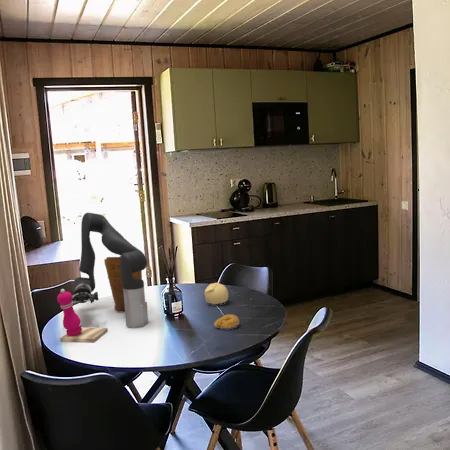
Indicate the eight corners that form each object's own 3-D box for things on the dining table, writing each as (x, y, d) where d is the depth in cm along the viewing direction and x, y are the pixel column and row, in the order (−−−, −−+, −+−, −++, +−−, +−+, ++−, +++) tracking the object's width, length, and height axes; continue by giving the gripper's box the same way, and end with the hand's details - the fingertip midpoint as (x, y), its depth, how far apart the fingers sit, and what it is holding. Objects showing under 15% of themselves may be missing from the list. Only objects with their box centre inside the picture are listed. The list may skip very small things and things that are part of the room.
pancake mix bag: (142, 314, 230) (138, 257, 226) (107, 312, 236) (103, 256, 232) (148, 310, 236) (144, 254, 233) (114, 308, 242) (110, 254, 238)
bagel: (214, 323, 211) (213, 313, 211) (239, 322, 211) (238, 312, 211) (213, 331, 201) (213, 321, 201) (239, 330, 201) (239, 320, 201)
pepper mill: (78, 335, 198) (65, 291, 193) (62, 337, 200) (49, 293, 195) (86, 327, 205) (74, 284, 200) (71, 329, 206) (59, 286, 202)
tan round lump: (207, 300, 248) (206, 280, 246) (230, 300, 246) (229, 280, 245) (203, 307, 236) (201, 286, 235) (227, 307, 235) (225, 285, 233)
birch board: (107, 331, 208) (107, 328, 208) (94, 342, 195) (93, 338, 195) (76, 330, 211) (75, 327, 211) (60, 341, 198) (60, 338, 198)
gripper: (66, 286, 220) (63, 295, 205) (97, 283, 224) (97, 291, 208) (67, 302, 221) (64, 312, 206) (99, 298, 225) (98, 308, 209)
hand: (81, 302), depth 207 cm, fingers open, 8 cm apart
